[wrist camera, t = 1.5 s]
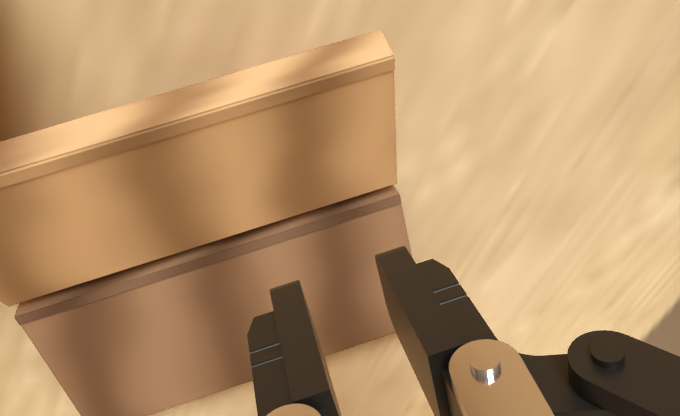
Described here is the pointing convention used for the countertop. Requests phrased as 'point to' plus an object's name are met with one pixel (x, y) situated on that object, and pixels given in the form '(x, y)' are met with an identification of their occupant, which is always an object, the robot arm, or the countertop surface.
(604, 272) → the countertop surface
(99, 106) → the countertop surface
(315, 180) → the oak plank
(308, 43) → the countertop surface
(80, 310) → the walnut board
